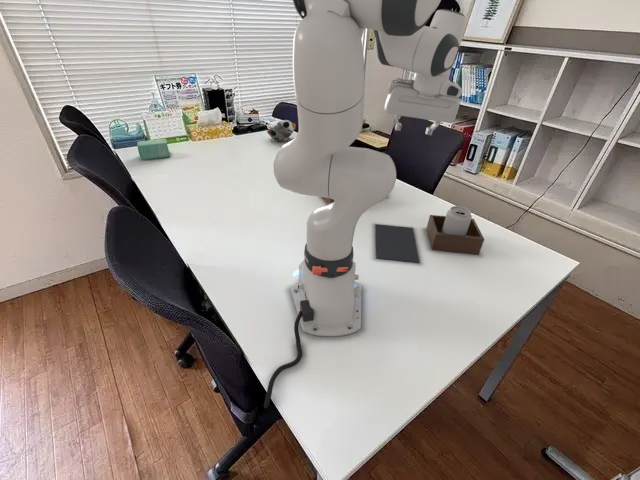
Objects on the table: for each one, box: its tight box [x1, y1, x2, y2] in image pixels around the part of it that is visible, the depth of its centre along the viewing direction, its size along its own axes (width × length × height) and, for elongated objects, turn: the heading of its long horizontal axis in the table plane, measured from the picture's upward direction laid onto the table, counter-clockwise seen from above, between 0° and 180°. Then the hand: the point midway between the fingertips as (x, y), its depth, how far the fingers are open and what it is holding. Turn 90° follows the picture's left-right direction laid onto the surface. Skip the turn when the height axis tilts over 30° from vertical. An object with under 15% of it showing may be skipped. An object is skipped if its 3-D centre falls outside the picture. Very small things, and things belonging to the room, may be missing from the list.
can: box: [440, 205, 473, 236], centre depth 106 cm, size 8×8×12 cm
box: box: [136, 138, 171, 161], centre depth 163 cm, size 7×14×8 cm, turn 116°
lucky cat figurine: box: [266, 119, 296, 143], centre depth 192 cm, size 15×12×14 cm
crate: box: [425, 214, 485, 256], centre depth 108 cm, size 13×15×6 cm
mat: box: [374, 223, 420, 264], centre depth 108 cm, size 20×13×1 cm, turn 173°
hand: (412, 132), depth 97 cm, fingers open, 8 cm apart
